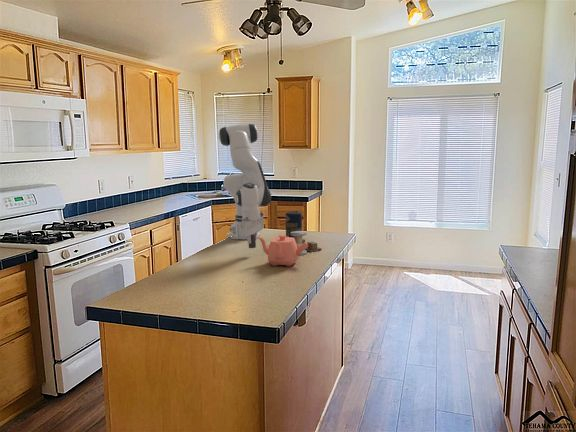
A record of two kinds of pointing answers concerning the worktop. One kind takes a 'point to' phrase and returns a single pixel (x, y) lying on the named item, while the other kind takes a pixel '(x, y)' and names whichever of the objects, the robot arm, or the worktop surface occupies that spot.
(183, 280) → the worktop surface
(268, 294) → the worktop surface
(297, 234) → the bobbin
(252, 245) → the cylinder
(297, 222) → the canister
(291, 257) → the teapot
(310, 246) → the board
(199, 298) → the worktop surface
